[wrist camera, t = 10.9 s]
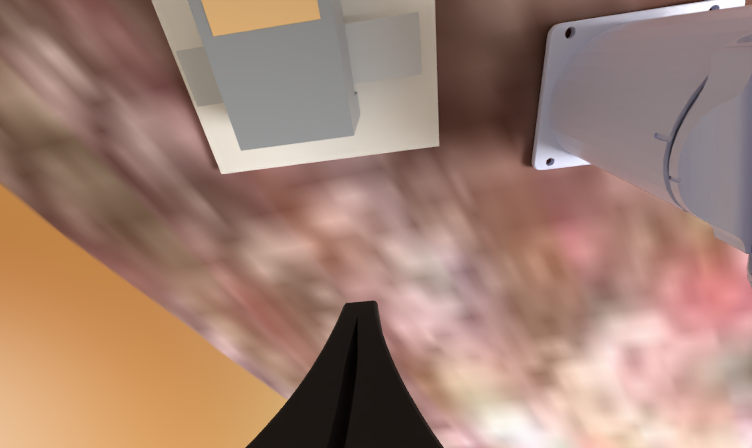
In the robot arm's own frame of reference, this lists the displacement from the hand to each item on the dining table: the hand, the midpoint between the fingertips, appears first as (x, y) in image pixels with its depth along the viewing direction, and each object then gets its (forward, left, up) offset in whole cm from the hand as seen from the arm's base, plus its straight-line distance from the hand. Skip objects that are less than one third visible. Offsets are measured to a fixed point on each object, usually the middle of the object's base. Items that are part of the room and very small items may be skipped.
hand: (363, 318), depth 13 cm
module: (+2, -11, -9) cm, 14 cm away
